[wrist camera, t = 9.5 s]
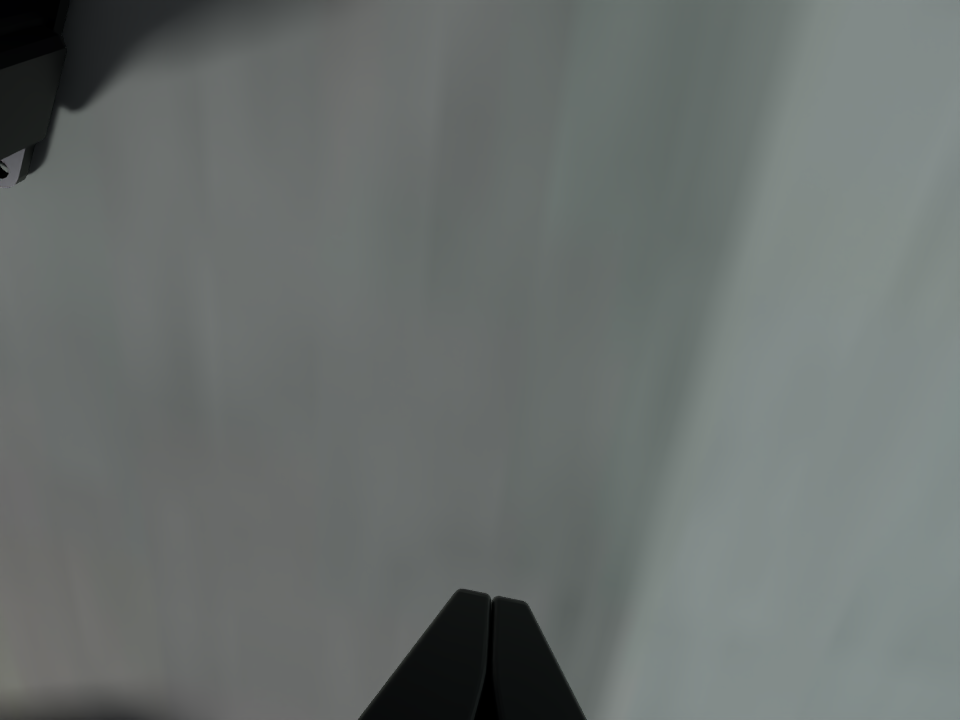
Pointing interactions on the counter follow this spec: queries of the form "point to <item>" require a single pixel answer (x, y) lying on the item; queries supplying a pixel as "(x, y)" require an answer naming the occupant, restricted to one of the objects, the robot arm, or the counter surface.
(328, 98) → the counter surface
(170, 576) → the counter surface
